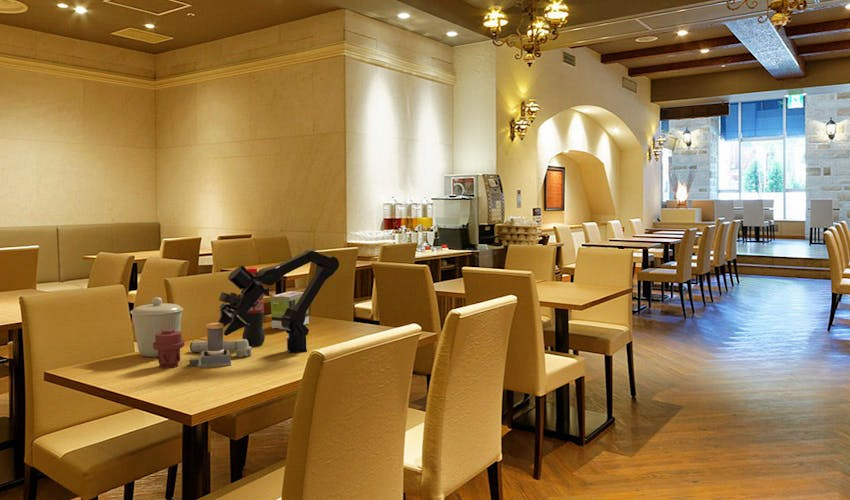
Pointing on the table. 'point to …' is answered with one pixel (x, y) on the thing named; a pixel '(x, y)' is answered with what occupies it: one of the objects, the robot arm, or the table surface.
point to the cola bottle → (255, 320)
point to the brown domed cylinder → (215, 339)
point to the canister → (154, 323)
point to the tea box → (284, 307)
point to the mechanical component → (168, 347)
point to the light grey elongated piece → (225, 347)
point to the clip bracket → (211, 360)
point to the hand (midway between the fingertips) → (220, 332)
